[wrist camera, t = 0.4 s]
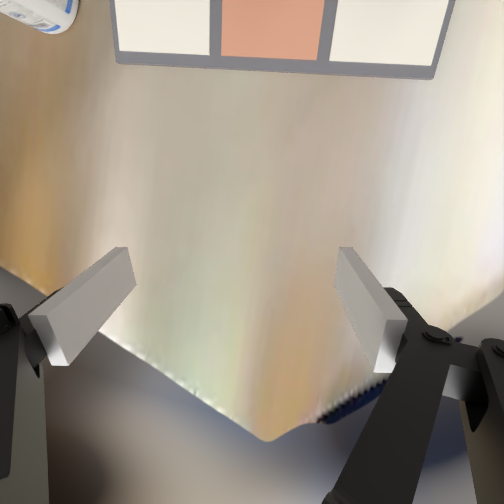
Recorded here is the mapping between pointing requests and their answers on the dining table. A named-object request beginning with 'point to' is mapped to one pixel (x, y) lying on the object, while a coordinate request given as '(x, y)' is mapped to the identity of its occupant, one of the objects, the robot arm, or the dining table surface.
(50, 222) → the dining table surface
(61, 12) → the supplement tub
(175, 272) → the dining table surface
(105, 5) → the dining table surface
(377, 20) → the game board
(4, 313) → the robot arm
